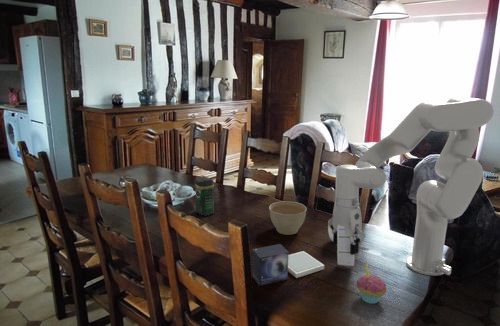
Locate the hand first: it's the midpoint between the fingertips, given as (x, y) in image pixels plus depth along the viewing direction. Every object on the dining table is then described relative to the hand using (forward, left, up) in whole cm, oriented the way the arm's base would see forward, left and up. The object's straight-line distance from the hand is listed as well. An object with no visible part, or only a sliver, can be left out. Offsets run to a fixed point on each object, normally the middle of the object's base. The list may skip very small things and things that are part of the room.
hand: (345, 248), depth 123 cm
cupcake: (-17, +6, -8) cm, 20 cm away
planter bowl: (+36, 0, -8) cm, 36 cm away
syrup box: (0, 0, -5) cm, 5 cm away
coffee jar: (+73, +24, -8) cm, 77 cm away
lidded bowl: (+15, -13, -8) cm, 21 cm away
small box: (+7, +27, -8) cm, 29 cm away
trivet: (+9, +13, -7) cm, 17 cm away
